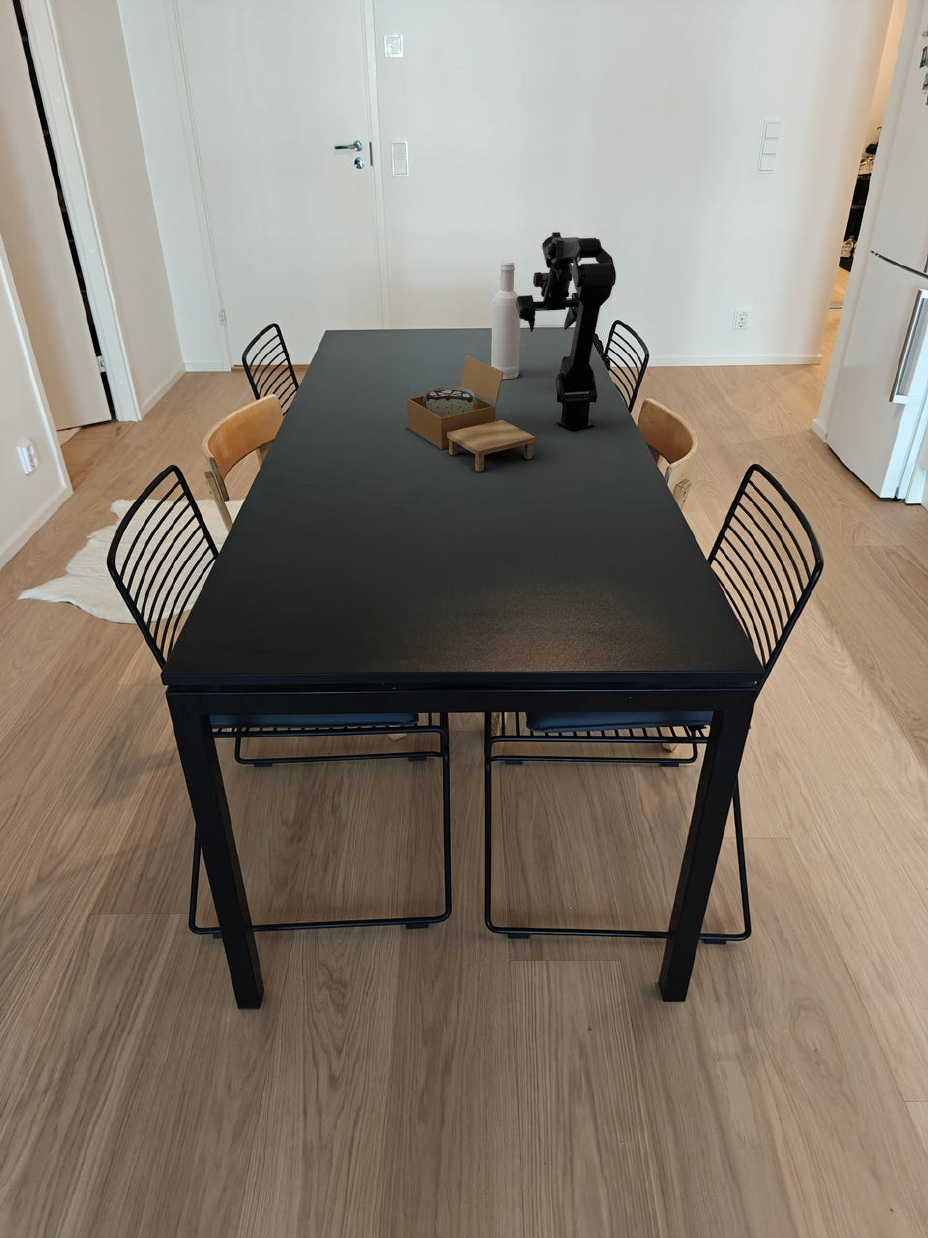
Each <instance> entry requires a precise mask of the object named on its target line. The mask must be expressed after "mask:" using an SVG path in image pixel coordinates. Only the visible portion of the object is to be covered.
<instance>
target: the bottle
mask: <svg viewBox="0 0 928 1238" xmlns="http://www.w3.org/2000/svg"><path fill="white" fill-rule="evenodd" d="M499 270H500V278H499V279H500V280H499V281H500V282H499V283H500V284H499V285H500V286H499V287H500V288H499V290H498V292H497V293H496V294H495V295H494V297H493V299H492V304H491V356H490V358H491V359H490V366H492V367H494V368H496V369H498V370H500V371H503V372H504V374H503V378H502V380H513V379H516V378H518V377H519V374H520V345H521V319H520V318H519V315H518V311H517V307H516V298H517V297H518V296H519V294H518V293H517V292H516V291H515V270H516V267H515V262H514V261H507V260H506V261H501V262H500V267H499Z"/></svg>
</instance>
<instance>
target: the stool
mask: <svg viewBox="0 0 928 1238" xmlns="http://www.w3.org/2000/svg"><path fill="white" fill-rule="evenodd" d="M447 438H449V448H448V454H449V455H451V456H456V455H458V446H460V447H462V448H464V449H465V450H467V451H469V452H471V453H472V454H474V455H475V456H474V457H475V459H474V462H475V463H474V465H475V466H474V470H475V471H476V472H478V473H481V472H484V471H485V456H486V455H489V454H493V453H497V452H500V451H501V452H502V451H505V450H509V449H513V448H517V447H521V446H524V448H523V451H524V452H523V458H524V459H526V460H530V459H533V458H534V457H533V455H534V444H535V443H536V436H534V435H532V434H530V433H528V432H527V431H525V430H523V429H521V428H519V427H517V426H516V425H513V424H511V423H509V422H507V421H506V420H503V419H499V420H496V421H495V422H490V423H486V424H482V425H477V426H473V427H468V428H464V429H460V430H455V431H451V432H447ZM457 444H459V445H458V446H457Z"/></svg>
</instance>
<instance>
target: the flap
mask: <svg viewBox="0 0 928 1238" xmlns="http://www.w3.org/2000/svg"><path fill="white" fill-rule="evenodd" d="M503 374H504V372H503V371H500V370H498V369H496V368H494V367H492V366H491V365H489V364H487V363H485V362H483V361H481V360H478V359H476V358H474V357H472V356H469V355H467V354H466V355H465V359H464V363H463V368H462V374H461V376H460V381H459V387H462V388H466V389H469V390H471V391H472V392H473V393H474V394H476V395H478V396H480V397H482V398H483V399H486V400H487V401H490V402H491V403H494V404H497V403H498V400H499V396H500V390H501V387H502V383H503V379H502V378H503Z"/></svg>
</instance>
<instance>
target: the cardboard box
mask: <svg viewBox="0 0 928 1238" xmlns="http://www.w3.org/2000/svg"><path fill="white" fill-rule="evenodd" d="M424 396H425V394H423V395H418V396H414V397H409V398H407V400H406V401H407V403H406V404H407V427H408V429H409V430H410V431H411V432H414V433H415V434H416V435H418V436H420V437H421V438H423V439H424V440H426V441H428V442H429V443H431V444H432V445H434V446H435V447H437V448H439V449H440V450H445V449H449V438H447V432H451V431H455V430H460V429H464V428H468V427H473V426H477V425H482V424H486V423H490V422H495V421H497V420H496V418H497V417H496V416H497V406H496V405H494V404H492V403H491V402H488V401H486V400H484V399H482V398H480V397H478V396H476V395H475V399H476V404H475V401H473V410H472V411H470V412H465V413H460V414H456V415H451V416H447V417H440V416H438V415H436V414H435V413H433V412H431V411H429V410H428V409H427V406H426V400H425V401H424V402H423V400H424ZM459 446H460V445H459V444H457V447H459Z"/></svg>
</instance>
